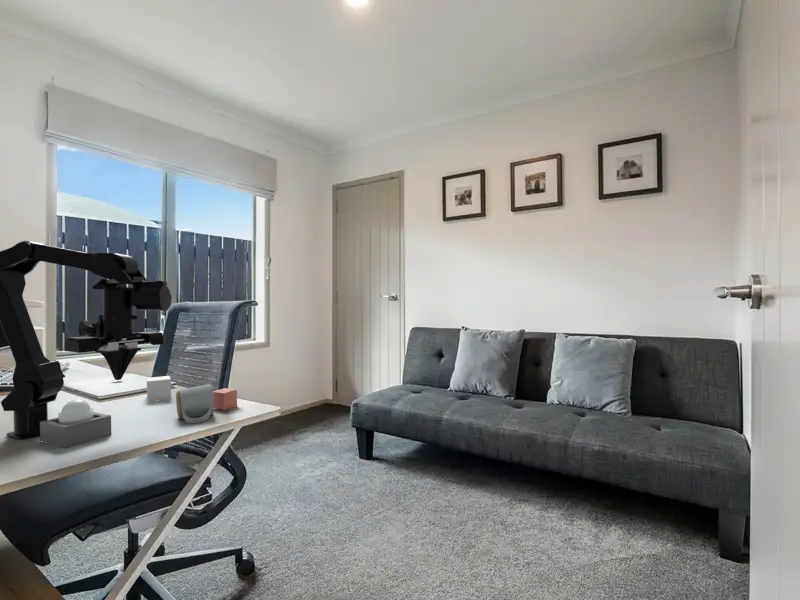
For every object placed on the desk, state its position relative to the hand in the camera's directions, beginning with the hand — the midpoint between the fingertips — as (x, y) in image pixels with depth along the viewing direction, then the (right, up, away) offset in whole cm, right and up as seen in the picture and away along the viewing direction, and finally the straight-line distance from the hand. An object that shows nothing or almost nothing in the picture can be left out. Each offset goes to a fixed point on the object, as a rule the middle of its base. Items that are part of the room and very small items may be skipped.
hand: (118, 379), depth 96 cm
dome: (-6, -8, -4) cm, 11 cm away
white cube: (-8, -11, +30) cm, 33 cm away
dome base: (-6, -12, -4) cm, 14 cm away
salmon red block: (+16, -11, +20) cm, 28 cm away
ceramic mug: (+13, -12, +10) cm, 20 cm away
